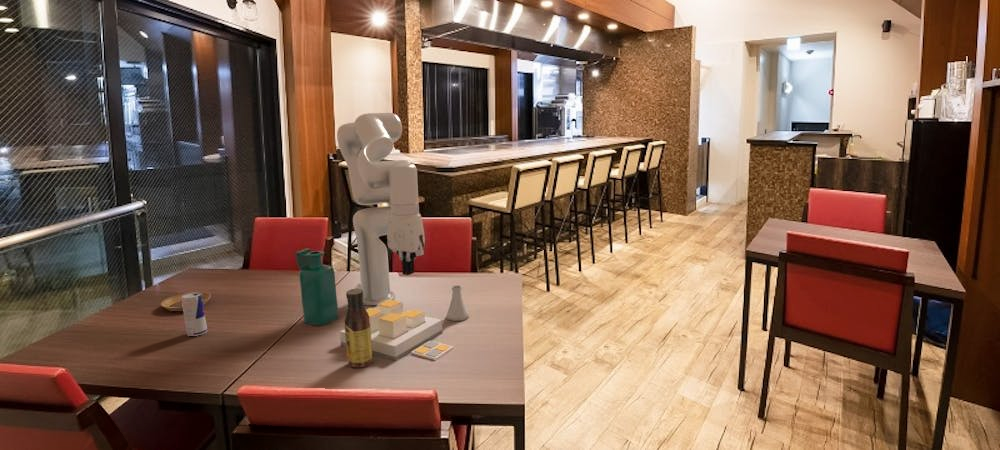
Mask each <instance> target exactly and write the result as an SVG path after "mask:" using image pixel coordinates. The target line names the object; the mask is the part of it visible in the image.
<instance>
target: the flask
mask: <svg viewBox="0 0 1000 450" xmlns="http://www.w3.org/2000/svg"><path fill="white" fill-rule="evenodd" d="M462 288H463V287H462V285H459V284H457V285H451V290H452V295H451V300H450V304H449V307H448V310H447V313H446V320H447V321H453V322H459V321H460V322H461V321H465V320H467V319H468V318H470V315H469V311H468V310H467V309H468V308H467V307H466V305H465V302H464V299H463V297H462Z"/></svg>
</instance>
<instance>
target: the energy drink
mask: <svg viewBox="0 0 1000 450" xmlns="http://www.w3.org/2000/svg"><path fill="white" fill-rule="evenodd" d="M198 292H199V291H195V292H194V293H192V292H187V293H188V294H185V293H184V294H185V295H183V296H182V299H181V300H182V307H183V313H182V314H183V318H184V326H185V332H186V333H185V334H186V335H188V336H187V337H189V336H197V337H199V336H198V335H201V334H204V333H205V334H207V332H208V327H207V320H206V314H205V313H206V312H205V307H204V306H205V305H203V298H202V295H201V293H198ZM205 334H204V335H205ZM201 336H202V335H201Z"/></svg>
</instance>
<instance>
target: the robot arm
mask: <svg viewBox="0 0 1000 450" xmlns="http://www.w3.org/2000/svg"><path fill="white" fill-rule="evenodd" d="M402 124H403V123H402V121H401V119H400V116H398V115H397V114H395V113H393V112H376V113H375V112H373V113H372V112H370V113H368V112H367V113H362V114H361V115H359V116H358V117H356V119H355V120H354V122H346V123H344V124H341V125H340V126H339V127H338V128H337V132H336V138H337V145H338V148H339V151H340V152H341V153H340V154H341V155H342V157H343V159H344V161H345V163H346V165H347V169H348V176H349V180H350V186H351V192H352V196H353V199H354V202H355V203H356V204H357V205H361V206H368V205H369V206H370V205H378V204H387V205H386V206H379V207H378V206H377V207H369V208H368V207H367V208H363V209H360V210H358V211H356V212H355V213H354V215H353V217H352V223H353V229H354V233H355V237H356V243H357V250H358V251H357V252H358V263H359V265H358V266H359V276H360V283H357V286H355V287H354V289H362V290H363V304H364V306H365V305H366V306H377V305H378V304H380V303H382V302H384V301H386V300H388V299H391V300H395V298H396V293H395V292H393V291H391V287H390V286H391V285H390V269H389V257H388V256H389V253H388V248H389V249H390V250H391V252H393V253H394V254H395V253H396V254H397V255H398V258H399V260H400V261H401V267H402V275H404V276H410V275H413V274H414V273H415V260H416V259H417V257H421V256H423V255H424V254H425V252H424V248H425V245H426V244H425V243H426V241H425V240H426V238H425V237H426V236H425V230H424V229H425V227H424V223H423V218H422V215H421V213H420V205H419V189H418V188H419V184H418V169H417V167H416V165H415V164H414V163H411V162H410V161H408V160H407V159H406V160H405V159H398V160H397V159H395V160H384V159H386V158H387V157H388V156H389V155H390V154H391V153H392V151H393V148H394V143H396V142H397V141H399V140H400V138H401V137H402V134H403V125H402ZM382 236H386V239H387V241H386V242H387V245H386V244H385V243H384V242H383V241H382V240H381V239H380V237H382ZM387 247H388V248H387Z"/></svg>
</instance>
